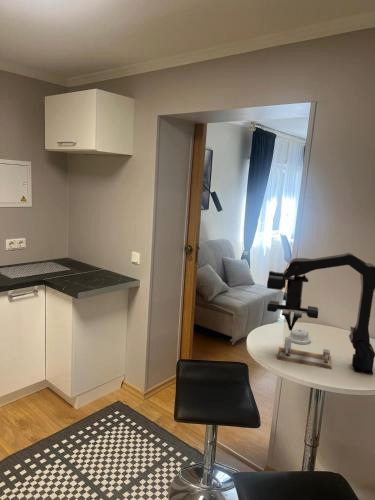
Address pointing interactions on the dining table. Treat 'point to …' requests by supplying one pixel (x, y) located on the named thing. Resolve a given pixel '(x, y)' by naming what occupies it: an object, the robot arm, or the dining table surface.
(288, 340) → the block
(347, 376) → the dining table surface
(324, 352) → the board
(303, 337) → the mechanical component
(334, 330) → the dining table surface
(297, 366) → the dining table surface
